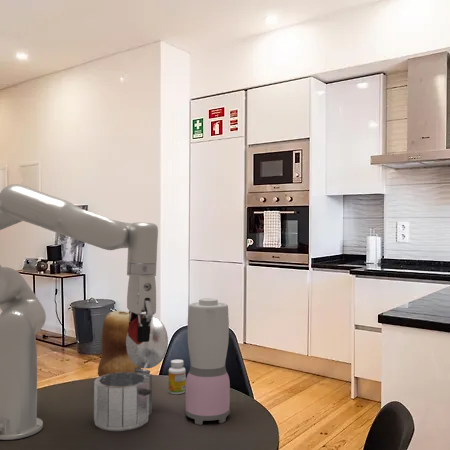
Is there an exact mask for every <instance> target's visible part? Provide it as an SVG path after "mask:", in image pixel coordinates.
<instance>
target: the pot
mask: <svg viewBox="0 0 450 450" xmlns="http://www.w3.org/2000/svg"><path fill="white" fill-rule="evenodd" d="M93 383H94V385H93V390H94V391H93V420H94V425H95V427H97V428H98V429H100V430H103V431H107V432H125V431H127V432H128V431H132V430H137V429H139V428H141V427H143V426H145V425H146V424H147V423H148V422H149V416H150V415H151V414H152V413H153V374H152V373H151V374H146V373H141V372H117V373H109V374H106V375H103V376H100V377H99V376H98V377H96V378H95V380H94V381H93Z"/></svg>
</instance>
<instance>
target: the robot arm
mask: <svg viewBox="0 0 450 450" xmlns="http://www.w3.org/2000/svg"><path fill="white" fill-rule="evenodd" d="M22 222H26V223H29V224H32V225H34V226H36V227H40V228H43V229H45V230H48V231H51V232H53V233H56V234H58V235H63V236H66V237H69V238H72V239H74V240H76V241H79V242H83V243H84V244H85V243H86V244H88V245H92V246H94V247H95V248H100V249H102V250H105V251H106V250H107V251H115V250H118V249H127V265H126V275H127V276H128V284H127V293H126V294H127V295H126V307H127V310H128V312H129V321H131V322H132V321H133V320H134V319H136V318H137V316H138V319H139V326H137V342H149V339H150V326H151V318H152V316H153V317H154V316H155V314H156V313H157V284H156V276H157V261H158V260H157V259H158V237H159V234H158V233H159V227H158V225H157V224H155V223H152V222H124V221H118V220H115V219H111V218H108V217H106V216H102V215H99V214H96V213H93V212H91V211H89V210H88V211H87V210H85V209H83V208H81V207H79V206H76V205H75V204H74V203H72V202H70V201H68V200H65V199H62V198H59V197H57V196H52V195H50V194H48V193H45V192H42V191H40V190H36V189H34V188H31V187H28V186H26V185H23V184H19V183H18V184H17V183H14V184H9V185H7V186H5V187H3V188H2V189H1V191H0V231H1V230H4V229H7V228H9V227H11V226H14V225H16V224H18V223H22ZM0 310H1V311H2V312H0V440H3V441H4V440H5V441H9V440H19V439H23V438H27V437H30V436H33V435H35V434H37V433H39V432H40V431H42V429H43V427H44V422H43V420H42V419H41V418H39V417H37V415H38V413H37V411H38V404H37V403H38V349H37V348H38V347H37V342H36V340H37V339H36V338H37V337H36V336H37V335H36V334H37V333H39V332H40V331H41V330H42V328H43V327H44V325H45V323H46V319H47V316H46V311H45V309H44V307H43V305H42V303H41V301H40V300H39V298H38V297H37V296H36V293H35V292H34V291H33V289H32V288H31V286H30V284H29V283H28V282H27V280H26V279H25V277H23V275H22V274H21V273H20V272H19V271H17V270H16V269H14V268H11V267H8V266H4V267H3V266H2V265H1V264H0ZM142 317H144V318H143V320H142ZM131 322H129V325H130V323H131ZM128 336H129V335H128Z"/></svg>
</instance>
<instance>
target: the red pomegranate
mask: <svg viewBox="0 0 450 450" xmlns="http://www.w3.org/2000/svg"><path fill="white" fill-rule="evenodd" d="M142 320H143V317H142ZM137 326H139V319H138V316H137V318H136V319H134V320H133V321H132V322H131V323H130V325H129V327H128V335H129V337H130V338H131V339H132V340H133V341H134V342H135V343H136V344H137V345H139V344H141V343H142V342H137Z"/></svg>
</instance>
